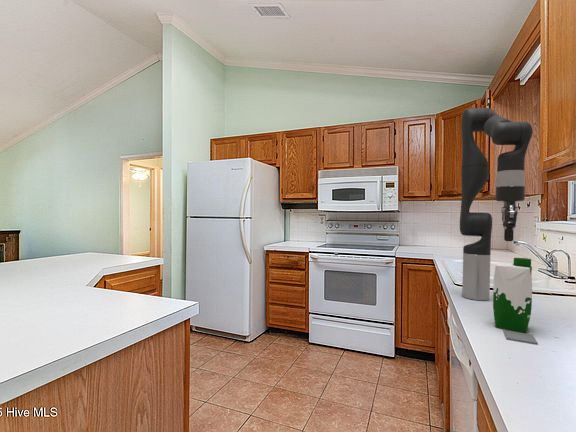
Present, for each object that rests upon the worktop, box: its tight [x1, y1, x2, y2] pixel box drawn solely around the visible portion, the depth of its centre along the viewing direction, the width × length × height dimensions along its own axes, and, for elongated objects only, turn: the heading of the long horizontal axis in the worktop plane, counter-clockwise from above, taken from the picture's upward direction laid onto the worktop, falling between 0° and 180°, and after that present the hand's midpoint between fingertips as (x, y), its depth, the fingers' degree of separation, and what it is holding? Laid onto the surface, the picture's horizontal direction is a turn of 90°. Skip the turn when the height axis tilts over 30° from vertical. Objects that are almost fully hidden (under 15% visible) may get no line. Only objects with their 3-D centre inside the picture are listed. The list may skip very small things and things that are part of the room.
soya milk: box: [492, 257, 533, 334], centre depth 92 cm, size 9×9×20 cm
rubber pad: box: [503, 329, 539, 345], centre depth 84 cm, size 6×6×1 cm
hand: (508, 241), depth 100 cm, fingers closed
